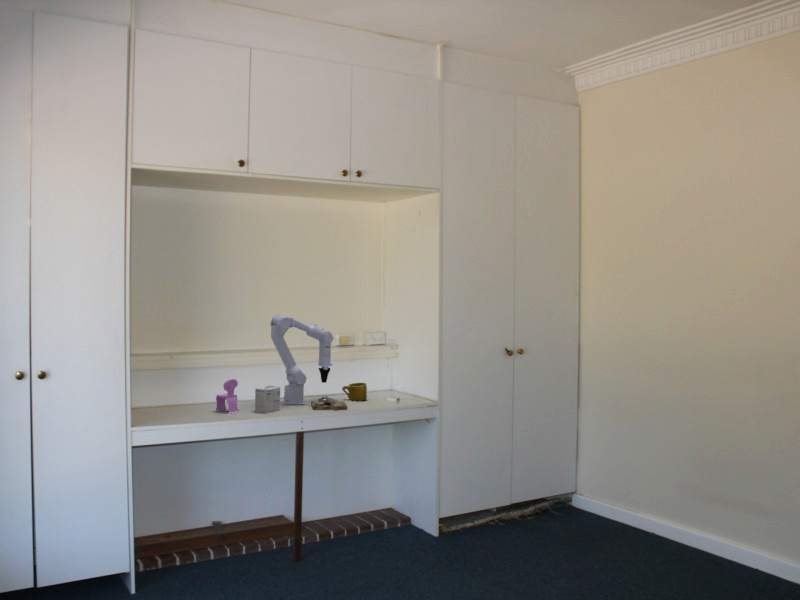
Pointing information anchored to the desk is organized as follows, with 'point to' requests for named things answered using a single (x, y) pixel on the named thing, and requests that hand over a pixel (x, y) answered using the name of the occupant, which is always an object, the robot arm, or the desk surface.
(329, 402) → the grey lever handle
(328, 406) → the base
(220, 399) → the toy chair
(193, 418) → the desk surface
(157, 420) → the desk surface
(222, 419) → the desk surface
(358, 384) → the mug
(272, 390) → the light bulb box
